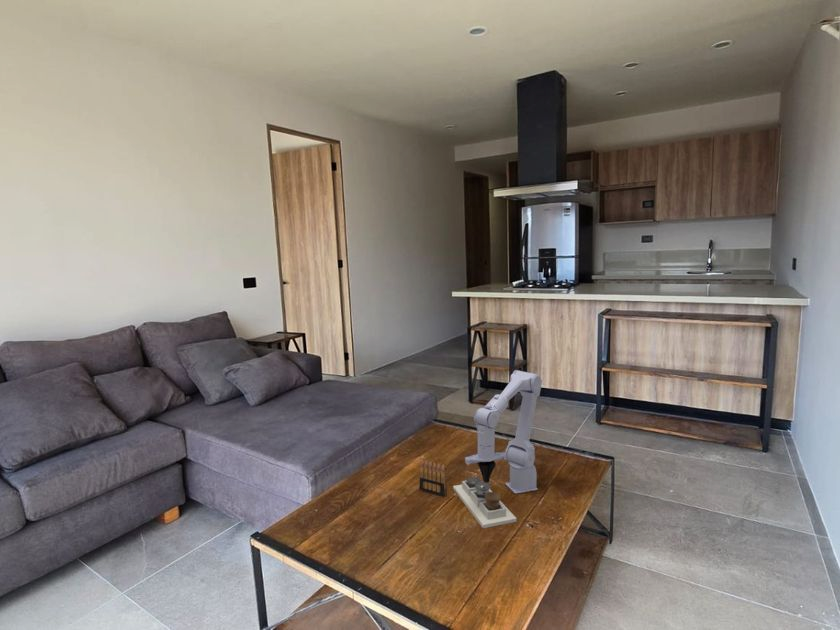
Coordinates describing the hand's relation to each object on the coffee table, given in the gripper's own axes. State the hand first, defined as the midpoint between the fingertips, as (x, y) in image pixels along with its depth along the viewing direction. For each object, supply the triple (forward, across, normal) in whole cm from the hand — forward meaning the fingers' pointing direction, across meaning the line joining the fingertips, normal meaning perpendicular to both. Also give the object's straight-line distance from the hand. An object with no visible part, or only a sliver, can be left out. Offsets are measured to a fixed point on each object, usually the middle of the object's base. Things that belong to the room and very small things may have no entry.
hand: (485, 481), depth 161 cm
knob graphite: (+9, 0, -11) cm, 14 cm away
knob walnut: (+7, 0, +5) cm, 8 cm away
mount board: (+10, 0, -3) cm, 10 cm away
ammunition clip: (+10, +14, -16) cm, 24 cm away
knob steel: (+6, 0, -3) cm, 7 cm away
